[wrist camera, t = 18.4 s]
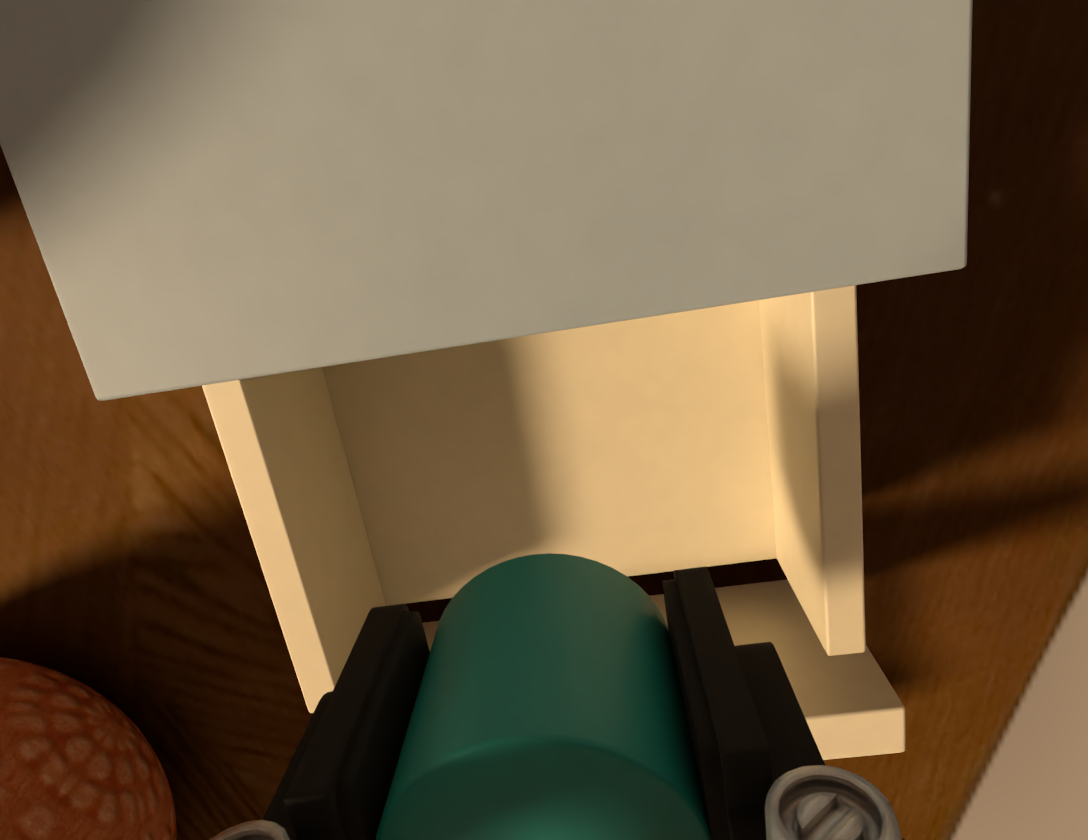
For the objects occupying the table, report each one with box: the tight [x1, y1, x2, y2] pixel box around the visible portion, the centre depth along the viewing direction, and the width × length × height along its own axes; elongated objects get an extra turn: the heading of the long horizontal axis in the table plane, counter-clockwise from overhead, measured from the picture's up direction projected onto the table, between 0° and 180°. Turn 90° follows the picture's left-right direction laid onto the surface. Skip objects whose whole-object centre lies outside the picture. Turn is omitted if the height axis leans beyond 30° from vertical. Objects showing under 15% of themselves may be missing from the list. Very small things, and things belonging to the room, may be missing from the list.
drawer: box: [202, 285, 905, 760], centre depth 17 cm, size 19×13×5 cm
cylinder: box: [376, 553, 711, 840], centre depth 10 cm, size 4×4×4 cm
